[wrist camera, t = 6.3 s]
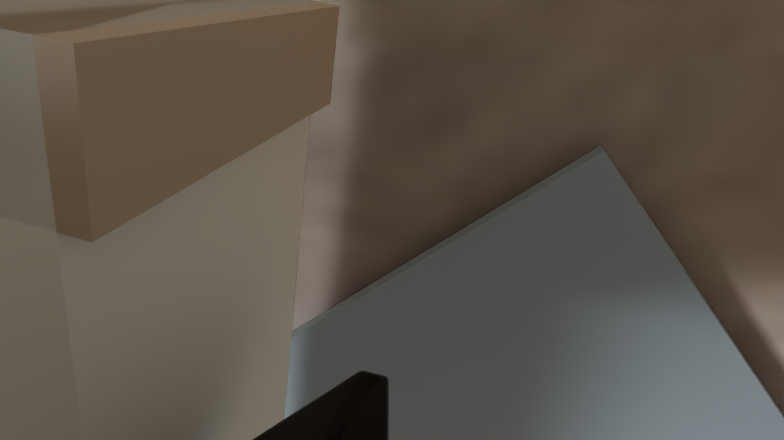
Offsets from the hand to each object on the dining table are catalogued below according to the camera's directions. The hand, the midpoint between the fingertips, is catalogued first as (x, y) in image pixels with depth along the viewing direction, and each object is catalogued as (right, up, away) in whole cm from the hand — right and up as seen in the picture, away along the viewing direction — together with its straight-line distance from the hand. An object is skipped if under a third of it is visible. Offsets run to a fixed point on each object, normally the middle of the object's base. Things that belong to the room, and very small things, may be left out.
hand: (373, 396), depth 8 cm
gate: (-2, 0, +3) cm, 4 cm away
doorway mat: (+3, -3, +4) cm, 6 cm away
